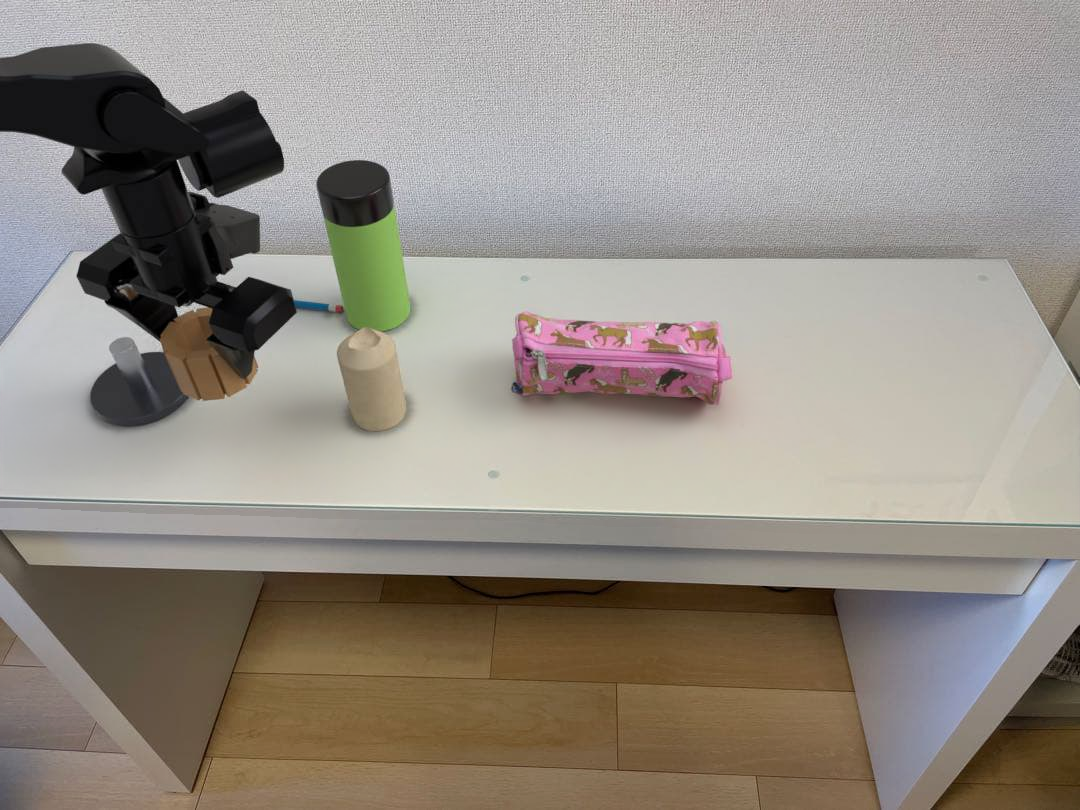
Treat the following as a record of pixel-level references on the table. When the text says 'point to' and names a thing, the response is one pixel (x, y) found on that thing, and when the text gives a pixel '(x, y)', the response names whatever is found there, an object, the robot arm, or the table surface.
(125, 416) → the stand
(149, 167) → the robot arm
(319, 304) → the pencil
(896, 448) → the table surface
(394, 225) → the tumbler
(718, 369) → the pencil case
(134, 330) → the table surface
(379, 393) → the candle
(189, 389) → the wooden segmented ring
